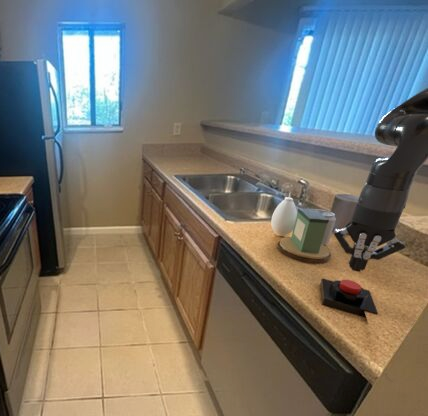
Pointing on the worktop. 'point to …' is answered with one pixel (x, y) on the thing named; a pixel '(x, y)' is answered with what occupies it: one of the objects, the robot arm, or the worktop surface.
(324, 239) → the can
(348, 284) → the bell button
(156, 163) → the worktop surface
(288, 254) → the disc
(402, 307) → the worktop surface
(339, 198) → the pillar candle
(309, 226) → the tea box
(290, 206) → the sauce bottle
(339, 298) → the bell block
